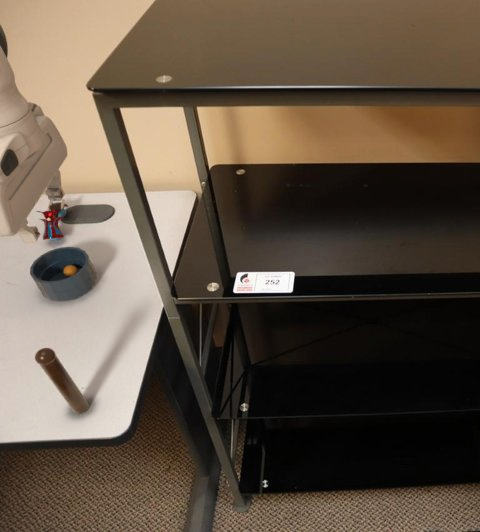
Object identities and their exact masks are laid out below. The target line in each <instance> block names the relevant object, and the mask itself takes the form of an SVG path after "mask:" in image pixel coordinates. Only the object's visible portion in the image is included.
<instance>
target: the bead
mask: <svg viewBox="0 0 480 532" xmlns="http://www.w3.org/2000/svg"><path fill="white" fill-rule="evenodd" d="M63 272H64V275H65V276H67V277H70V276H72V275H74V274H76V273H77V272H78V269H77V267H75V266H73V265H68V266H66V267H65V268H64V270H63Z"/></svg>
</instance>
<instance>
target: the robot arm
mask: <svg viewBox="0 0 480 532" xmlns="http://www.w3.org/2000/svg"><path fill="white" fill-rule="evenodd" d="M8 53H9V47H8V39H7V36H6V33H5V31H4V29H3V26H2V25H1V24H0V237H13V236H16V235H18V236H19V237H20V239H21V241H22V242H23V243H26V244H34V243H37V242H38V240H39V238H40V236H41V232H40V231H39V229H38V227H37V226H33V225H32V226H29V225H28V224H29V220H28V219H27V218H28V217H29V215H30V214H31V212H33V210H34V208H35V206H36V205H37V203H38V202H39V200H40V198H41V197H42V195H43V194H44V193H45V195H46V196H47V198H48V200H49V202H50V201H53V202H62V199H64V196H65V195H66V193H65V192H64V189H63V187H62V176H61V171H60V168H61V166H62V165H63V164H64V162H65V161H66V159H67V157H68V147H67V144H66V143H65V140H64V138H63V137H62V135H61V134H60V131H59V129H58V128H57V126H56V124H55V123H54V122H53V120H52V119H51V118H50V116H49V117H48V116H47V115H46V114H44V111H43V109H42V107H41V106H40V105H38V104H37V103H34V102H28V101H27V99H26V98H25V97H24V95H23V94H22V93H21V92H20V90H19V89H18V87H17V84H16V79H15V77H16V76H15V73H14V71H13V70H14V69H13V68H12V66H11V64H10V62H9V59H8V56H9V55H8Z"/></svg>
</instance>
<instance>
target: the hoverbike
mask: <svg viewBox="0 0 480 532" xmlns="http://www.w3.org/2000/svg"><path fill="white" fill-rule="evenodd" d="M65 207H66V208H69V205H68V204H67V203H66V199H65V198H62V200H61V201H55V202H54V201H50V200H49V202H48V206H47V210H45V211H40V210H36V213H41V214H42V215H43V217H44V218H39V220H40V221H42V222H43V224H44V232H43V235H42V240H43V241H47V240H51V241H54V242H57V241H59V240H60V239H64V238H65V234H64V232H62V230H61V228H60V226H59V221H60V220H62V219H63V218H65V217H66V216H67V210H66V208H65Z"/></svg>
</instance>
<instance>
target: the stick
mask: <svg viewBox="0 0 480 532" xmlns="http://www.w3.org/2000/svg"><path fill="white" fill-rule="evenodd" d="M34 360H35V363H37V364H39V367H41V369H42V370H43V371H44V373H45V374H46V376H47V377H48V378H49V380H50V381H51V382H52V384H53V385H54V386H55V389H56V390H57V391H58V392H59V393H60V395H61V397H63V399H64V400H65V401H66V403H67V404H68V406H69V407H70V409H71V410H72V412H73V413H75V414H76V415H81V414H84V413H86V412H87V411H88V410H89V409H90V408H89V407H90V404H89V402H88V400H87V398H85V396H84V395H83V393H82V392H81V390H80V389H79V387H78V386H77V384H76V383H75V382H74V380H73V378H72V377H71V375H70V374H69V373H68V371H67V369H66V368H65V366H64V365H63V364H62V362H61V361H60V359H59V357H58V356H57V354H56V351H54V350H53V349H52V348H50V347H43V348H40V349H39V350H37V351H36V352H35V355H34Z"/></svg>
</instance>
